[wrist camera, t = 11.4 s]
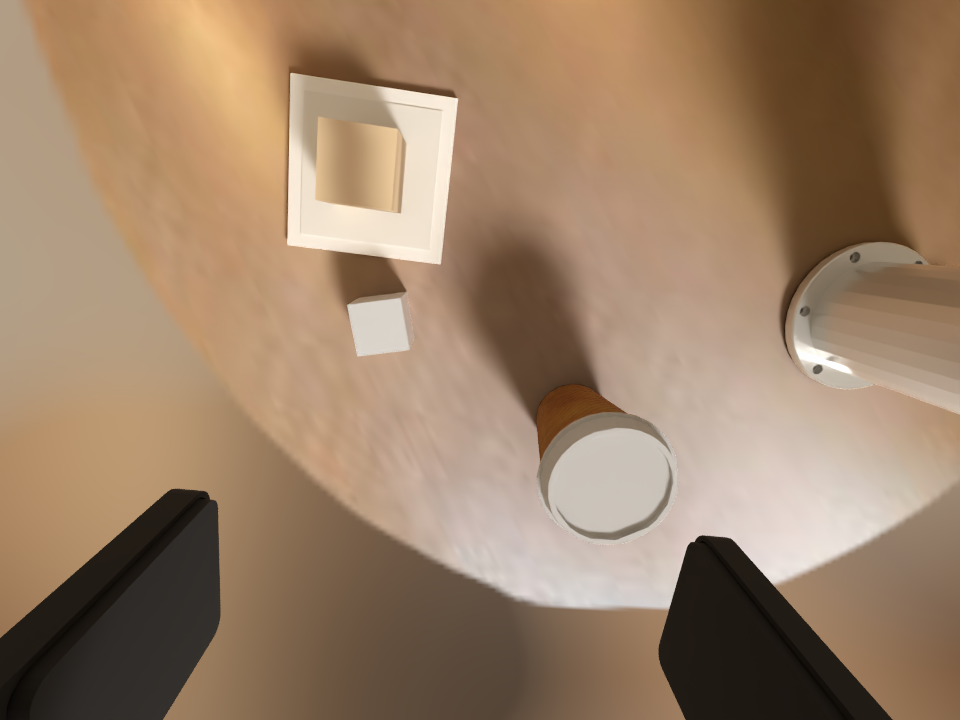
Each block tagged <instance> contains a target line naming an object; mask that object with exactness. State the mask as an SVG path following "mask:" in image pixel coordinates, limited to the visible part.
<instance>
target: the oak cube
mask: <svg viewBox="0 0 960 720" xmlns="http://www.w3.org/2000/svg"><path fill="white" fill-rule="evenodd" d="M406 146H407V143H406V142H405V140H404V138H403V137H402V135H401V134H400V132H399V130H398V129H396V128H389V127H383V126H376V125H370V124H363V123H356V122H350V121H343V120H336V119H330V118H323V117H318V132H317V160H316V189H315V200H318V201H322V202H326V203H331V204H335V205H342V206H349V207H356V208H364V209H371V210H378V211H385V212H393V213H400V214H401V207H402V195H403V183H404V170H405V158H406Z"/></svg>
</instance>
